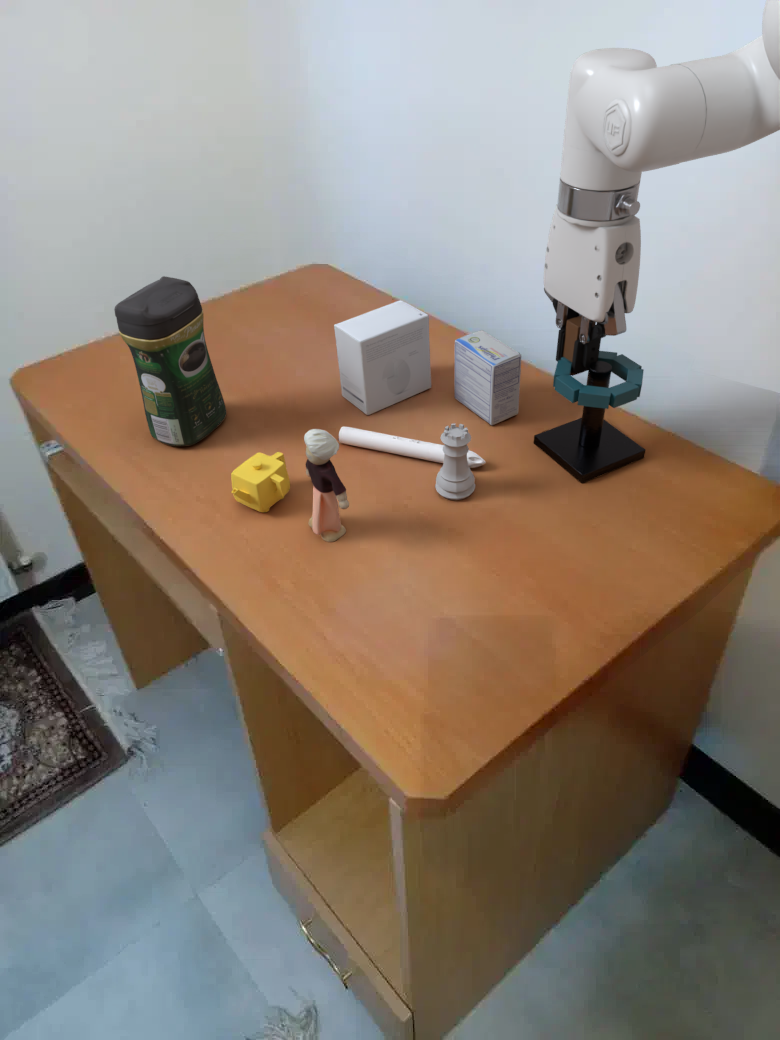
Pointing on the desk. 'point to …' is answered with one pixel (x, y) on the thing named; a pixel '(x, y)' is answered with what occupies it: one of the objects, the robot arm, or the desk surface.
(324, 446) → the grandmother figurine
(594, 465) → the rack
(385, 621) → the desk surface
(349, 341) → the cosmetics box
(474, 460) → the marker
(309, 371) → the desk surface
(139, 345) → the coffee jar
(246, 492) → the teapot
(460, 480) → the rook chess piece
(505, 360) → the medicine box
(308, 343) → the desk surface
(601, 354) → the teal segmented ring
